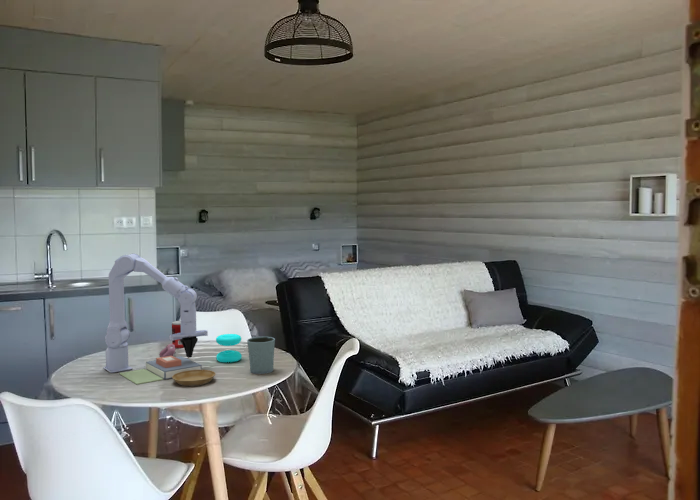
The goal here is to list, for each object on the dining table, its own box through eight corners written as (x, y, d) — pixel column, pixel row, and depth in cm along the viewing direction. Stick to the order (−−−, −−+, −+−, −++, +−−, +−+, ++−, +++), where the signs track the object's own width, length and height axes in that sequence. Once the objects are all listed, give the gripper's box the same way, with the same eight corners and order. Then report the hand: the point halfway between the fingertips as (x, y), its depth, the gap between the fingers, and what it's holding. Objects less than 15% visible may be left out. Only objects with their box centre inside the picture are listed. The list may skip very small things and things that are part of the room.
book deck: (145, 369, 227) (145, 361, 227) (181, 363, 236) (181, 356, 236) (164, 379, 213) (164, 371, 213) (201, 373, 222) (201, 364, 221)
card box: (156, 363, 224) (156, 357, 224) (171, 360, 228) (171, 355, 228) (165, 368, 217) (165, 362, 217) (181, 365, 221) (181, 359, 221)
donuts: (245, 334, 244) (233, 338, 234) (246, 358, 244) (233, 364, 235) (224, 332, 247) (211, 337, 237) (224, 356, 247) (211, 362, 238)
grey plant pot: (279, 368, 228) (278, 337, 227) (268, 375, 218) (268, 342, 217) (254, 366, 230) (254, 335, 230) (243, 373, 221) (242, 341, 220)
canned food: (194, 345, 269) (193, 321, 268) (180, 349, 262) (180, 324, 261) (182, 343, 273) (181, 319, 272) (168, 347, 266) (168, 322, 265)
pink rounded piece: (170, 364, 241) (178, 348, 241) (160, 360, 239) (168, 344, 240) (168, 359, 250) (176, 343, 251) (158, 355, 248) (165, 339, 249)
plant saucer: (172, 389, 201) (172, 382, 201) (172, 378, 215) (172, 371, 215) (217, 386, 205) (217, 378, 205) (214, 375, 220) (214, 368, 219)
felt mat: (119, 374, 221) (119, 373, 221) (144, 369, 227) (144, 368, 227) (136, 384, 207) (136, 383, 207) (163, 379, 213) (163, 378, 213)
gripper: (174, 325, 219) (175, 361, 220) (210, 320, 228) (211, 355, 229) (166, 322, 225) (167, 358, 225) (202, 318, 234) (203, 352, 234)
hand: (189, 356), depth 227 cm, fingers closed
